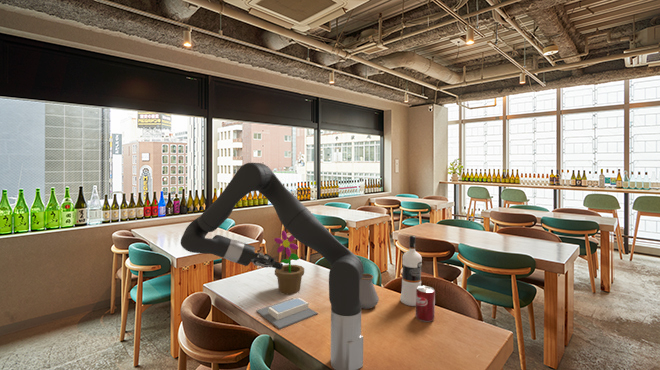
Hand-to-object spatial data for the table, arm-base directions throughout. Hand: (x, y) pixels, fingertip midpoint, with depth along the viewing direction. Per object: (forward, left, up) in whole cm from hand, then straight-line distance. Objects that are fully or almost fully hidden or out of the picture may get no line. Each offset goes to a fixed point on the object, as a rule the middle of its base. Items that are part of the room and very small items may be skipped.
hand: (281, 267), depth 119 cm
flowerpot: (+24, -19, -22) cm, 37 cm away
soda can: (-34, -45, -22) cm, 61 cm away
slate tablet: (+5, +1, -20) cm, 20 cm away
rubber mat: (+5, -5, -22) cm, 23 cm away
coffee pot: (-6, -34, -22) cm, 41 cm away
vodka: (-22, -53, -22) cm, 62 cm away
